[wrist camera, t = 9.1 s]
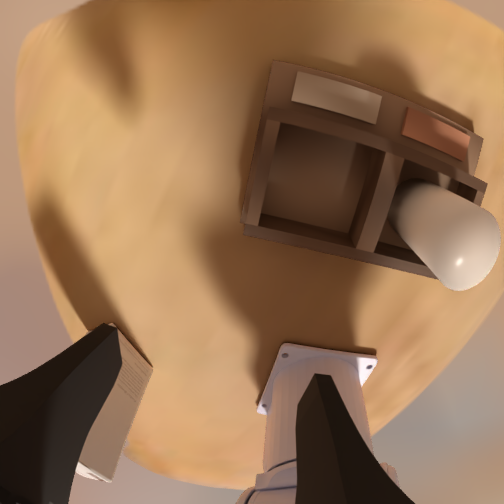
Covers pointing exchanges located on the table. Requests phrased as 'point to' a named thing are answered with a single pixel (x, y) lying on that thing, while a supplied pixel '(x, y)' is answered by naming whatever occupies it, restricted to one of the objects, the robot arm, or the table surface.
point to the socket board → (348, 165)
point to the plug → (445, 232)
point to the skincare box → (115, 416)
